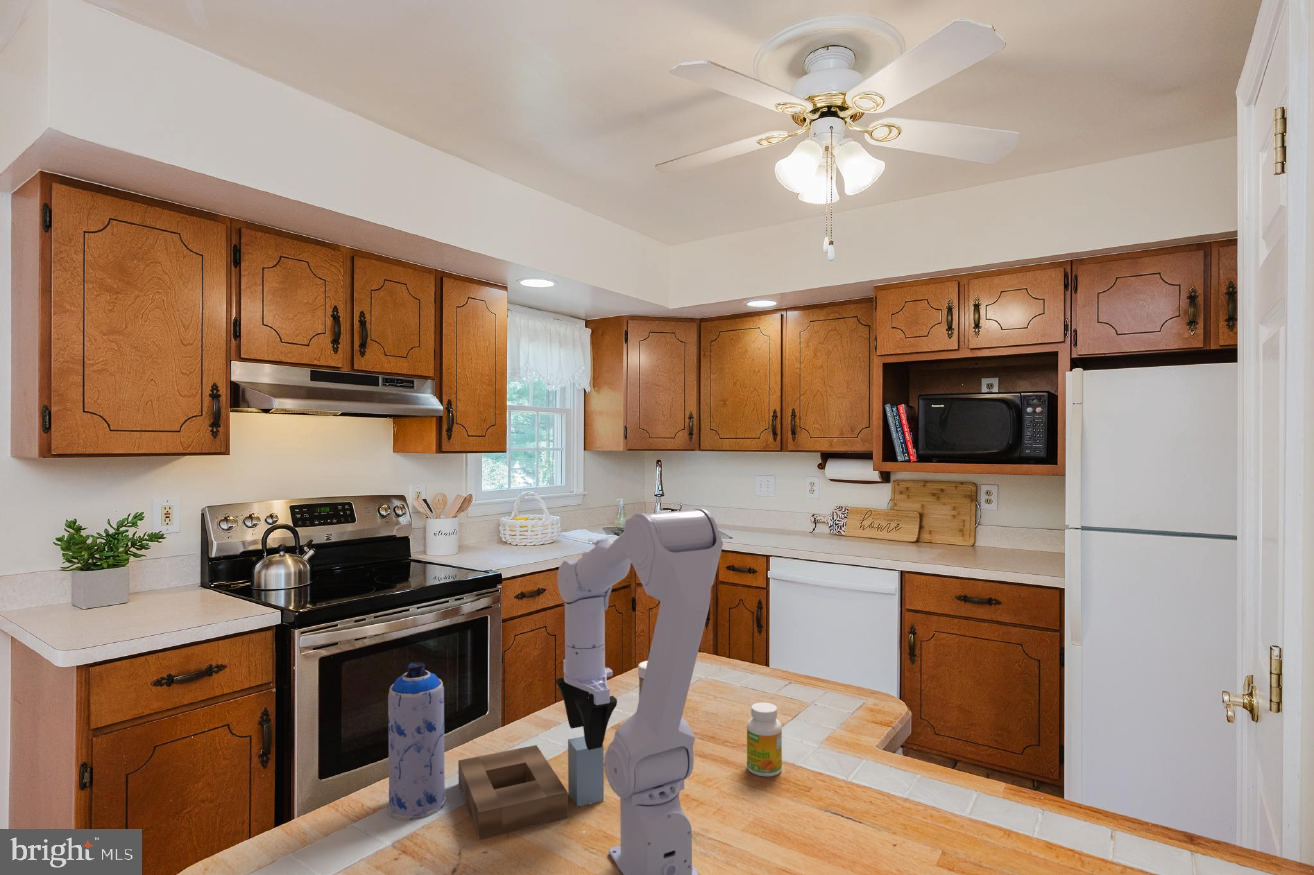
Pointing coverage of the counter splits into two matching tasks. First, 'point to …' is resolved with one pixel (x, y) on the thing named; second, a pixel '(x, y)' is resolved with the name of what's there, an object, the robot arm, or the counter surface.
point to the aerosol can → (416, 744)
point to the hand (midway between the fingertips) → (585, 736)
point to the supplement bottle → (764, 740)
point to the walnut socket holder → (511, 791)
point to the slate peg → (585, 772)
